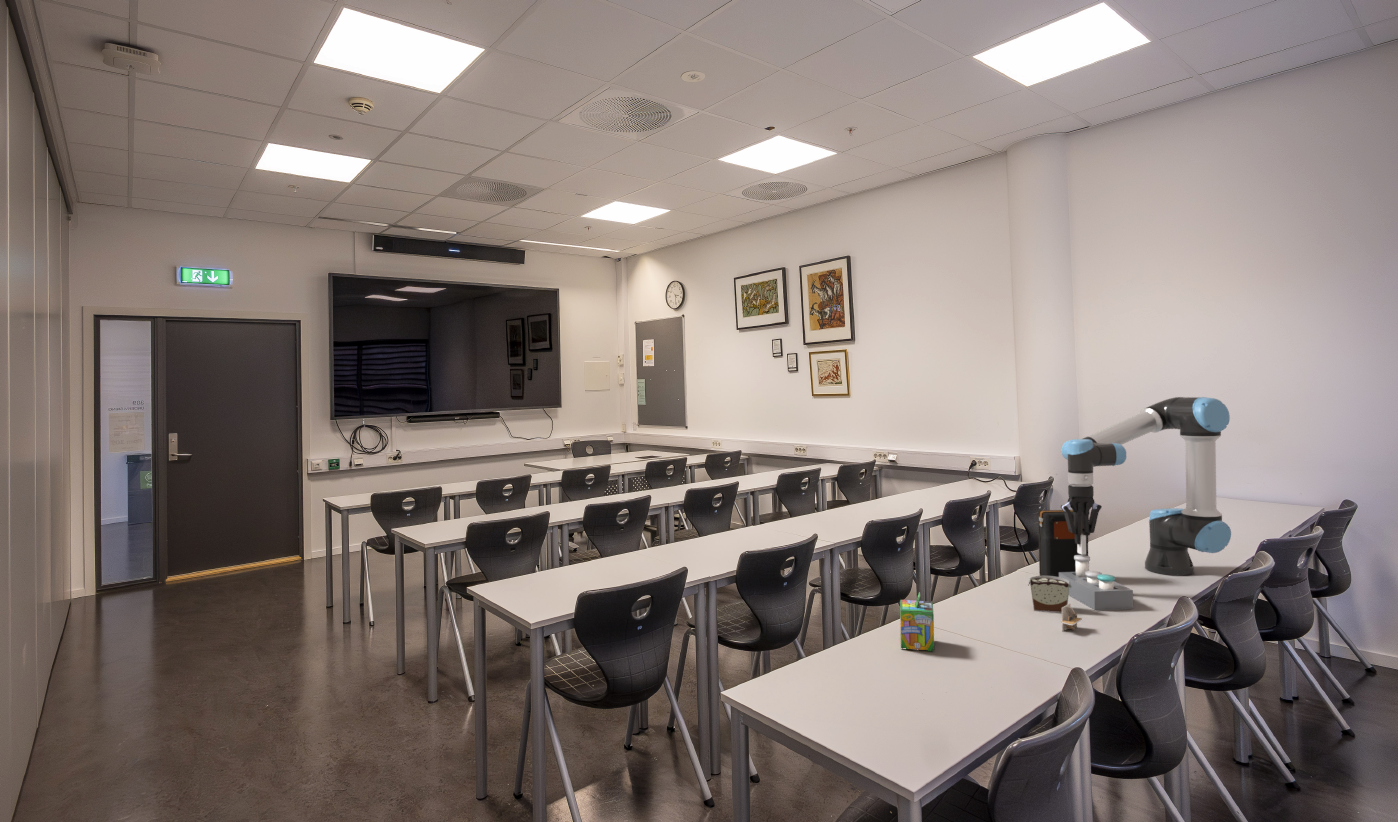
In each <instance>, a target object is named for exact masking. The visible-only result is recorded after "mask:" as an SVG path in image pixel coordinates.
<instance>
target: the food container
mask: <svg viewBox="0 0 1398 822" xmlns="http://www.w3.org/2000/svg"><path fill="white" fill-rule="evenodd" d="M1027 586H1030V591H1031V593H1030V594H1031V601H1032V605H1033V611H1034V612H1044V611H1047V612H1046V613H1060V614H1062V607H1064V606H1066V605H1068V604H1069V597H1070V596H1069V587H1070V588H1072V587H1071V584H1070V582H1069V581H1068V580H1066V579H1064V578H1060V577H1054V576H1040V575H1035V576H1032V577H1030V578H1029V580H1028V585H1027Z"/></svg>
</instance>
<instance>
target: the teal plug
mask: <svg viewBox="0 0 1398 822" xmlns="http://www.w3.org/2000/svg"><path fill="white" fill-rule="evenodd" d="M1097 579H1098V580H1099V588H1101V589H1103V590H1109V589H1114V586H1113V581H1115V582H1116V577H1115V576H1114V575H1111V574H1103V573H1102V574H1099V575H1097Z"/></svg>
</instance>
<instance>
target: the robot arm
mask: <svg viewBox="0 0 1398 822" xmlns="http://www.w3.org/2000/svg"><path fill="white" fill-rule="evenodd" d="M1230 419H1231V417H1230V412H1229V409H1228V407H1227V406H1226V404H1224V403H1223V401H1221V400H1220V399H1218V398H1214V397H1205V396H1201V397H1200V396H1198V397H1195V396H1194V397H1193V396H1191V397H1188V396H1186V397H1185V396H1182V397H1181V396H1177V397H1176V396H1175V397H1171V398H1166V399H1164V400H1161V401H1159V402H1156V403H1154V404H1152V405H1149V406H1147V407H1144V408H1143V409H1141V410H1140V411H1139V413H1137V414H1136V415H1134V416H1133V415H1132V417H1128V418H1127V419H1124V420H1122V421H1119V422H1118V423H1115V424H1113V425H1111V426H1109V427H1106V428H1104V429H1101V430H1100V431H1097V432H1094V433H1092V434H1090V435H1088V436H1085V437H1082V438H1080V439H1079V438H1075V439H1069V440H1067V441H1065V442H1064V443H1063V444H1062V445H1061V446H1062V447H1061V451H1060V452H1061V455H1062V457H1063V458H1064V459H1065V460H1067V483H1068V484H1069V485H1068V487H1067V489H1068V490H1067V492H1068V499H1067V502H1066V503H1065V504H1061V505H1060V508H1061V509H1060V510H1063V511H1064V515H1065V518H1066V522H1067V526H1068V530H1069V532H1071V533H1074V534H1075V543H1076V544H1077V553H1079V554H1082V555H1085V554H1086V544H1088V545H1089V536H1090V535H1091V534H1094V533H1095V531H1096V530H1095V529H1096V526H1097V522H1098V517H1099V513H1100V511H1101V510H1102V505H1101V504H1098V503H1096V501H1095V499H1094V493H1095V492H1094V486H1093V484H1094V467H1109V466H1112V467H1114V466H1115V467H1116V466H1119V465H1122V464H1124V463H1125V462H1126V460H1127V450H1126V448H1125V446H1123V445H1124V444H1126V443H1129V442H1131V441H1133V440H1135V439H1136V440H1137V439H1138V438H1141V437H1143V436H1145V435H1147V434H1149V433H1159V432H1161V431H1165V430H1179V436H1180V437H1181V438H1182V439H1183V440H1184V442H1185V446H1184V447H1185V496H1186V497H1185V498H1186V499H1185V500H1186V501H1185V504H1186V506H1185V508H1177V507H1176V508H1175V507H1173V508H1170V507H1169V508H1155V509H1152V510H1151V511H1150V512H1149V519H1148V520H1149V521H1148V523H1149V550H1148V553H1147V556H1146V558H1145V560H1144V568H1145V570H1147V571H1149V572H1153V573H1154V574H1155V573H1156V574H1160V575H1161V574H1162V575H1168V576H1169V575H1170V576H1191V575H1194V573H1195V566H1194V564H1193V561H1192V559H1191V556H1190V553H1189V549H1191V550H1195V551H1197V552H1201V553H1208V554H1216V553H1219V552H1222V551H1223V550H1224V549H1225V548H1226V547H1227V546H1228V545H1229V543H1230V542H1231V541H1230V540H1231V539H1232V538H1231V537H1232V530H1231V528H1230V526H1229V525H1228V524H1227V523H1226V522H1225V521H1223V514H1222V512H1221V511H1219V510H1218V509H1217V460H1216V459H1217V456H1216V455H1217V453H1216V452H1217V449H1216V447H1217V446H1216V441H1217V440H1218V439H1219V438H1221V437H1222V431H1224V430H1225V429H1226V428H1227V427H1228V426H1227V425H1229V423H1230ZM1070 510H1073V514H1074V522H1073V518H1072V515H1071V512H1070ZM1081 527H1082V534H1081Z"/></svg>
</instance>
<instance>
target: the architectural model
mask: <svg viewBox="0 0 1398 822" xmlns="http://www.w3.org/2000/svg"><path fill="white" fill-rule="evenodd" d="M1071 606H1072V605H1071V603H1068V605H1066V606H1064V607H1062V613H1061V632H1064V630H1065V631H1066V630H1069V629H1070V630H1075V629H1077V628H1078V623H1079V622H1081V621H1083V618H1081V617H1078V612H1075V610H1074V608H1072V607H1071Z"/></svg>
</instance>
